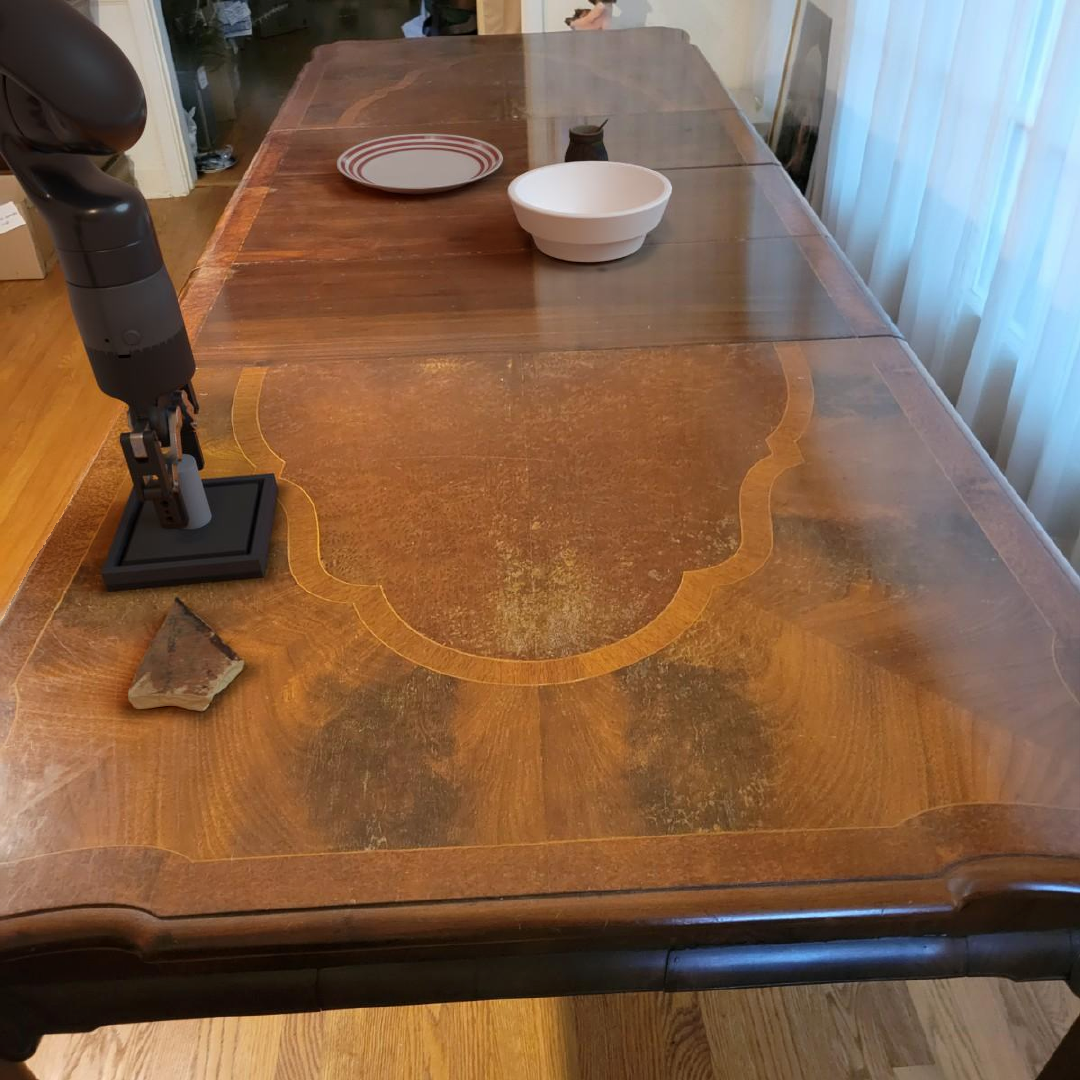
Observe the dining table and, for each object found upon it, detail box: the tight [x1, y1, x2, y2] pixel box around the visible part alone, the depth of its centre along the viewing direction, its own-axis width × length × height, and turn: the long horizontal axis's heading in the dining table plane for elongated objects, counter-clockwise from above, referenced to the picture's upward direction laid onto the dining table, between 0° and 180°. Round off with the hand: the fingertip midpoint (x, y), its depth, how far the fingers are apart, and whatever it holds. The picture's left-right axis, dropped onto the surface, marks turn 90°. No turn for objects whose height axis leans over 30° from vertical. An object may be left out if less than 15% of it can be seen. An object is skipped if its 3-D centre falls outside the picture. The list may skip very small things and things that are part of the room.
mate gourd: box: [563, 118, 610, 163], centre depth 158 cm, size 7×8×10 cm
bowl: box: [507, 160, 673, 263], centre depth 136 cm, size 22×22×8 cm
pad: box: [125, 454, 260, 566], centre depth 85 cm, size 10×10×7 cm
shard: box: [127, 596, 245, 712], centre depth 75 cm, size 11×8×2 cm
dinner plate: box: [336, 133, 504, 195], centre depth 164 cm, size 27×27×3 cm
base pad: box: [100, 472, 279, 592], centre depth 87 cm, size 13×13×2 cm
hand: (185, 496), depth 85 cm, fingers open, 8 cm apart
